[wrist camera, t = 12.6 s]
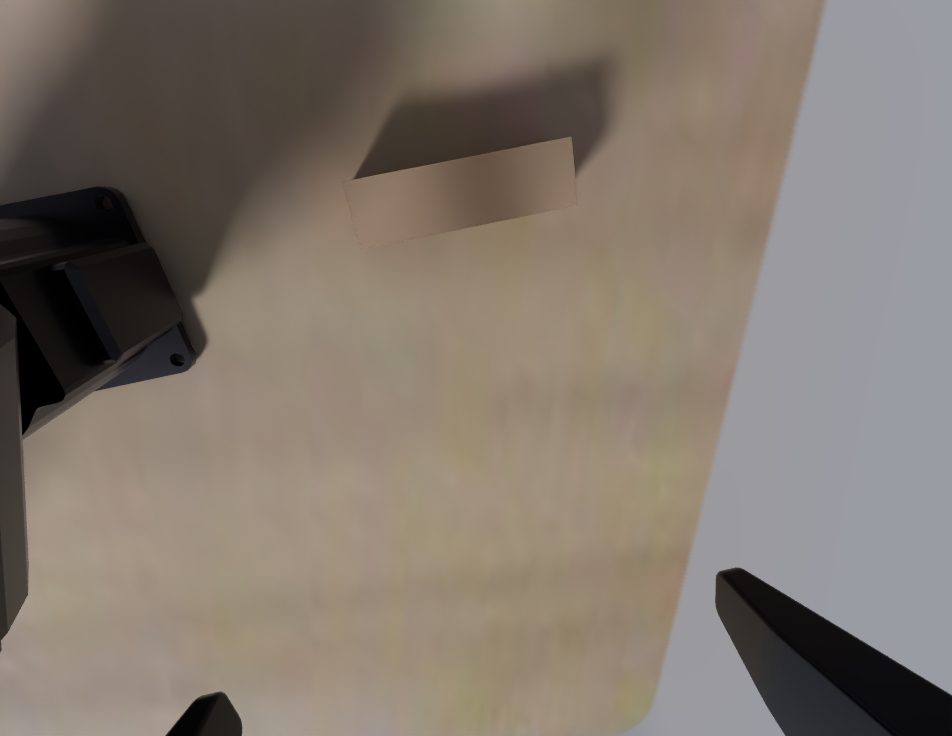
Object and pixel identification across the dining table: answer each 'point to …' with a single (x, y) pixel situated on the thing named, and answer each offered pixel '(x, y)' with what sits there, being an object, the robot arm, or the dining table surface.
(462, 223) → the lens cradle
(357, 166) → the dining table surface
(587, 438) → the dining table surface
